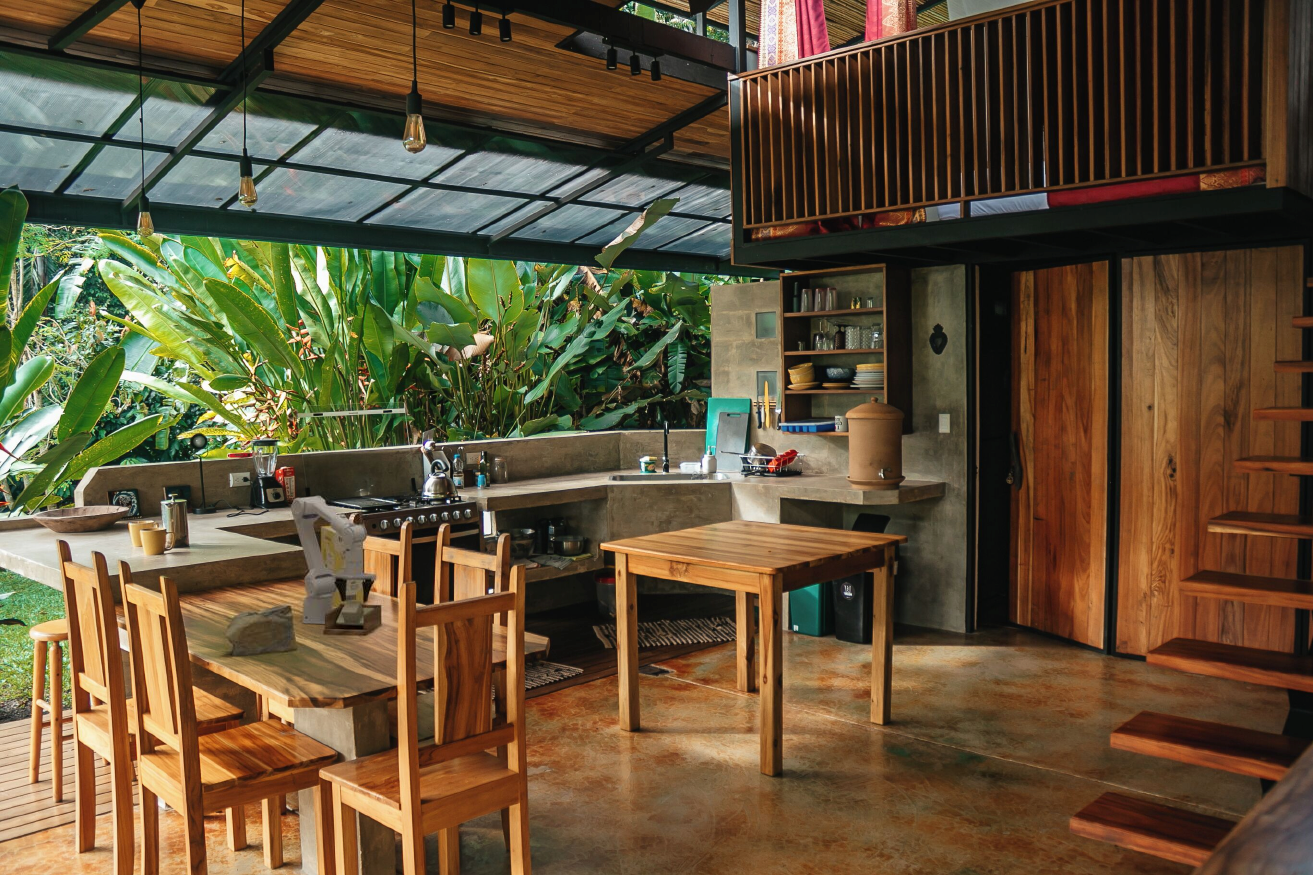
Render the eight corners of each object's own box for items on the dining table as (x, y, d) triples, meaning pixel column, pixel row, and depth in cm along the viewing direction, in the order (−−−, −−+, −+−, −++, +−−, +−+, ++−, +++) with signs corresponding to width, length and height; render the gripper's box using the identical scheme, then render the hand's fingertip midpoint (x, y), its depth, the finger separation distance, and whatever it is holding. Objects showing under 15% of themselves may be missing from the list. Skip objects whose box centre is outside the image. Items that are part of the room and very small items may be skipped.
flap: (336, 624, 327) (336, 622, 327) (343, 608, 333) (343, 607, 332) (368, 625, 326) (367, 623, 326) (374, 609, 332) (374, 608, 331)
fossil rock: (232, 669, 293) (220, 621, 292) (232, 663, 302) (220, 616, 300) (301, 649, 301) (290, 602, 300) (299, 643, 310) (288, 598, 308)
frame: (323, 634, 321) (323, 613, 320) (340, 623, 335) (340, 603, 335) (365, 635, 320) (365, 614, 319) (381, 624, 334) (381, 604, 334)
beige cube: (344, 622, 327) (341, 611, 324) (349, 611, 331) (346, 601, 328) (359, 622, 326) (355, 612, 323) (363, 611, 330) (360, 601, 327)
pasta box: (363, 604, 366) (362, 530, 364) (335, 607, 360) (334, 532, 358) (348, 595, 381) (348, 524, 379) (321, 598, 375) (320, 526, 373)
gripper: (328, 562, 324) (328, 603, 325) (370, 563, 323) (371, 604, 324) (337, 559, 331) (337, 598, 332) (378, 560, 330) (378, 599, 331)
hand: (354, 601), depth 328 cm, fingers open, 7 cm apart
